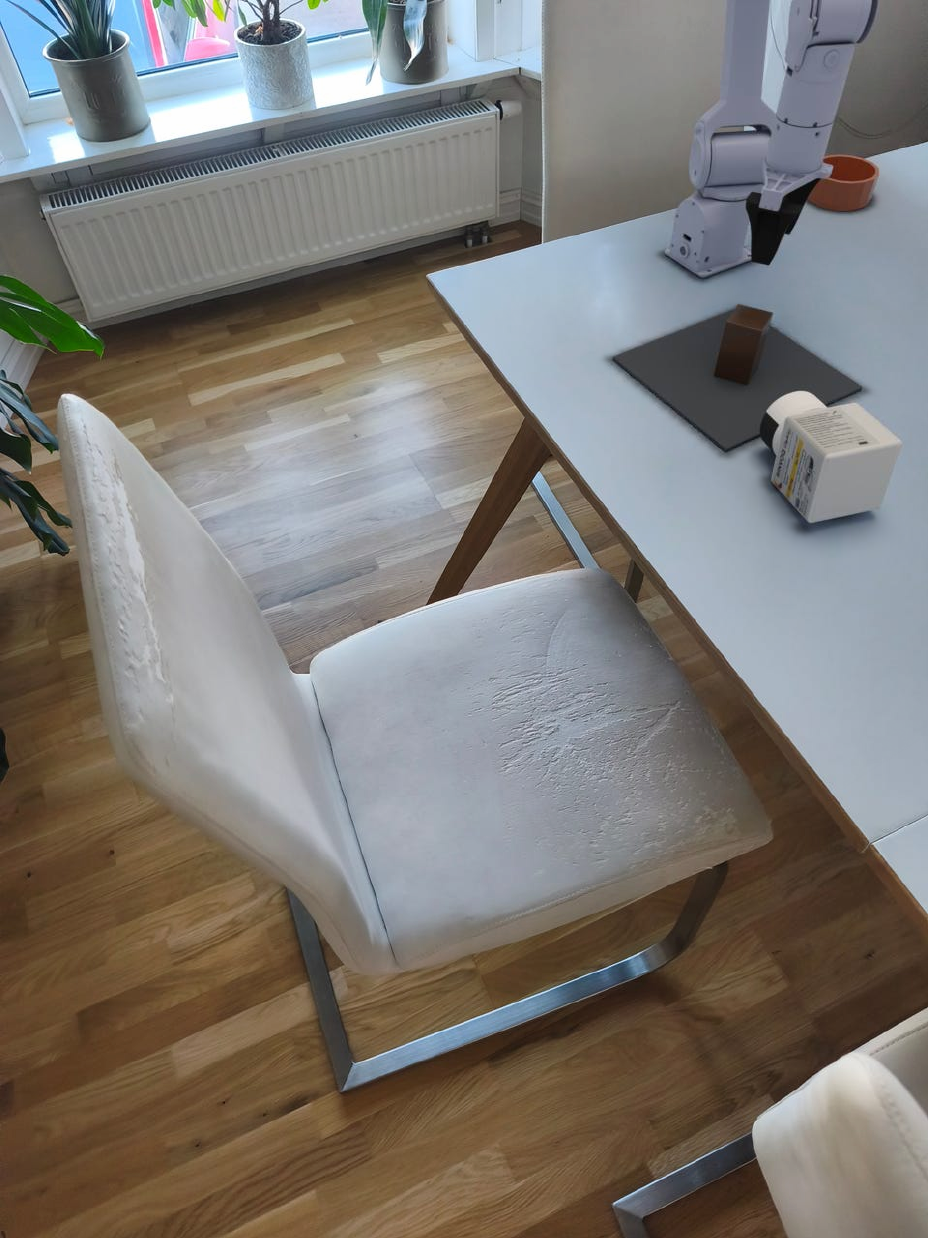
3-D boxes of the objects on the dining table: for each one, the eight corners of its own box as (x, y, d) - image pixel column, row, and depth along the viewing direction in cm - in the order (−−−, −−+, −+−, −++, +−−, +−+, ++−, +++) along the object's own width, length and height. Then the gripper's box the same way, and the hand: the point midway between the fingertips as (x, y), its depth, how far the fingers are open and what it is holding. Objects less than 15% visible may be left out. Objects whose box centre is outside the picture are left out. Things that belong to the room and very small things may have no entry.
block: (747, 385, 97) (762, 330, 91) (713, 376, 98) (726, 321, 92) (758, 367, 99) (773, 312, 93) (724, 357, 100) (737, 303, 95)
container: (808, 525, 82) (744, 454, 91) (881, 509, 83) (811, 441, 92) (827, 457, 76) (757, 388, 85) (905, 441, 77) (827, 375, 86)
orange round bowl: (837, 217, 121) (846, 188, 118) (791, 192, 126) (799, 164, 123) (883, 200, 124) (893, 171, 121) (836, 176, 129) (844, 149, 126)
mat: (725, 451, 90) (726, 448, 90) (612, 359, 101) (612, 356, 101) (861, 389, 96) (862, 386, 96) (740, 308, 107) (741, 305, 107)
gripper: (826, 151, 80) (788, 285, 91) (863, 96, 88) (824, 225, 99) (753, 138, 83) (724, 270, 93) (795, 86, 91) (764, 213, 101)
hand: (771, 246), depth 96 cm, fingers open, 7 cm apart
